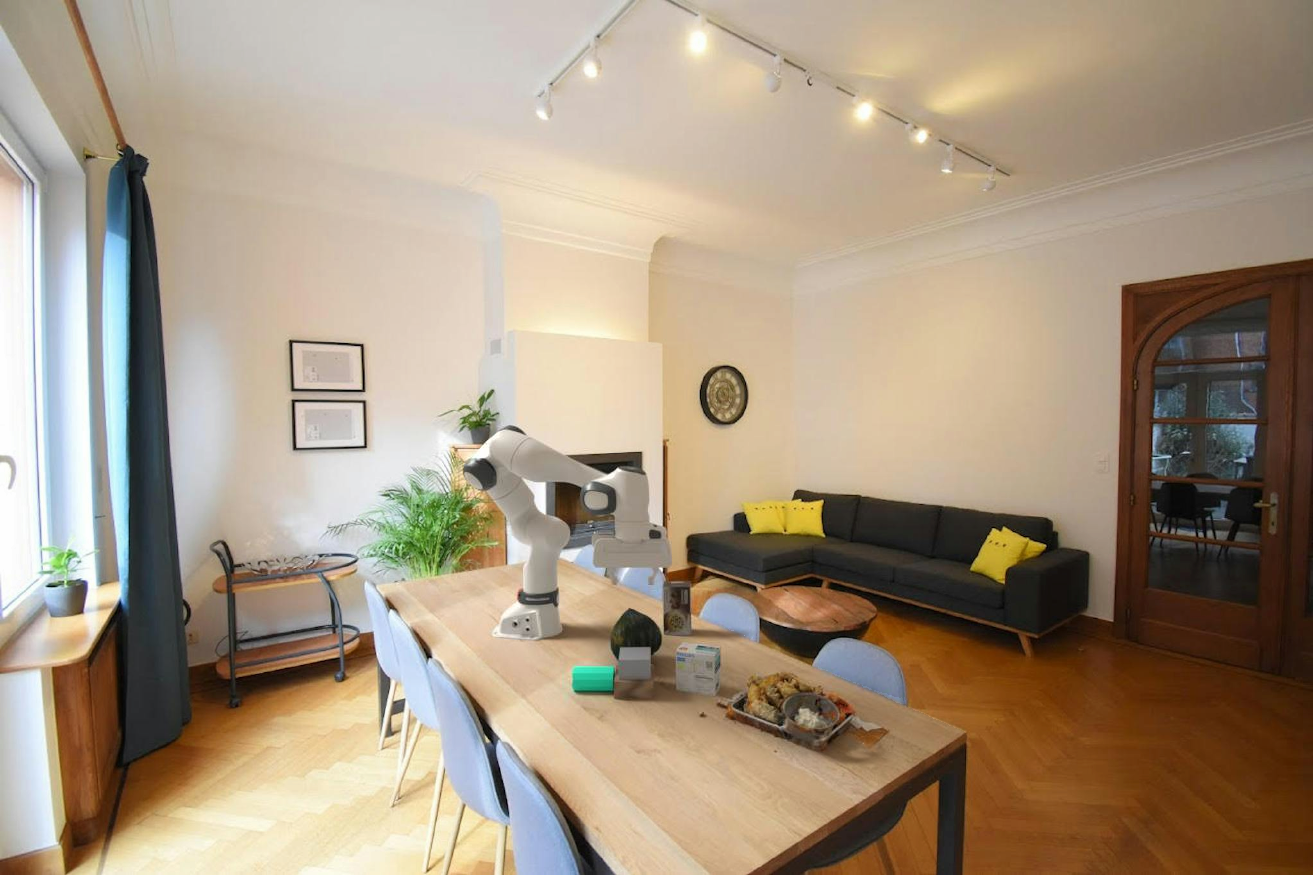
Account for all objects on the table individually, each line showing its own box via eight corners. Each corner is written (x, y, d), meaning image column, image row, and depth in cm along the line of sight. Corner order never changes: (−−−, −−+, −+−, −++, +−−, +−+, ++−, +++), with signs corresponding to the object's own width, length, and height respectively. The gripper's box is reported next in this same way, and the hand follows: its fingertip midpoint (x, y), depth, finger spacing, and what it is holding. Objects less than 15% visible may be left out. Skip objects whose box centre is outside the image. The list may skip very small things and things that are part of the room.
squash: (600, 665, 166) (599, 612, 165) (637, 649, 177) (636, 600, 176) (635, 680, 156) (635, 624, 156) (672, 662, 167) (672, 611, 166)
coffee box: (691, 628, 194) (691, 580, 193) (690, 636, 187) (690, 586, 187) (664, 628, 195) (664, 580, 194) (662, 635, 188) (662, 585, 188)
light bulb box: (721, 686, 152) (721, 645, 152) (715, 697, 146) (715, 655, 146) (682, 680, 156) (682, 640, 155) (675, 691, 149) (674, 650, 149)
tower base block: (614, 701, 145) (613, 682, 145) (616, 683, 155) (616, 665, 155) (654, 701, 145) (654, 681, 145) (654, 683, 155) (654, 664, 155)
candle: (614, 690, 152) (568, 690, 152) (615, 665, 154) (569, 665, 154) (612, 692, 147) (565, 692, 147) (613, 667, 148) (566, 667, 149)
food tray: (890, 733, 130) (890, 686, 130) (835, 785, 112) (835, 731, 112) (759, 684, 155) (759, 644, 154) (696, 720, 136) (696, 675, 136)
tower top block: (618, 679, 146) (618, 659, 146) (620, 666, 154) (620, 647, 154) (650, 679, 146) (650, 659, 146) (650, 665, 154) (650, 647, 154)
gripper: (589, 532, 145) (590, 587, 146) (671, 532, 145) (672, 587, 145) (593, 528, 151) (593, 580, 152) (671, 527, 151) (672, 580, 152)
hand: (632, 584), depth 149 cm, fingers open, 8 cm apart
